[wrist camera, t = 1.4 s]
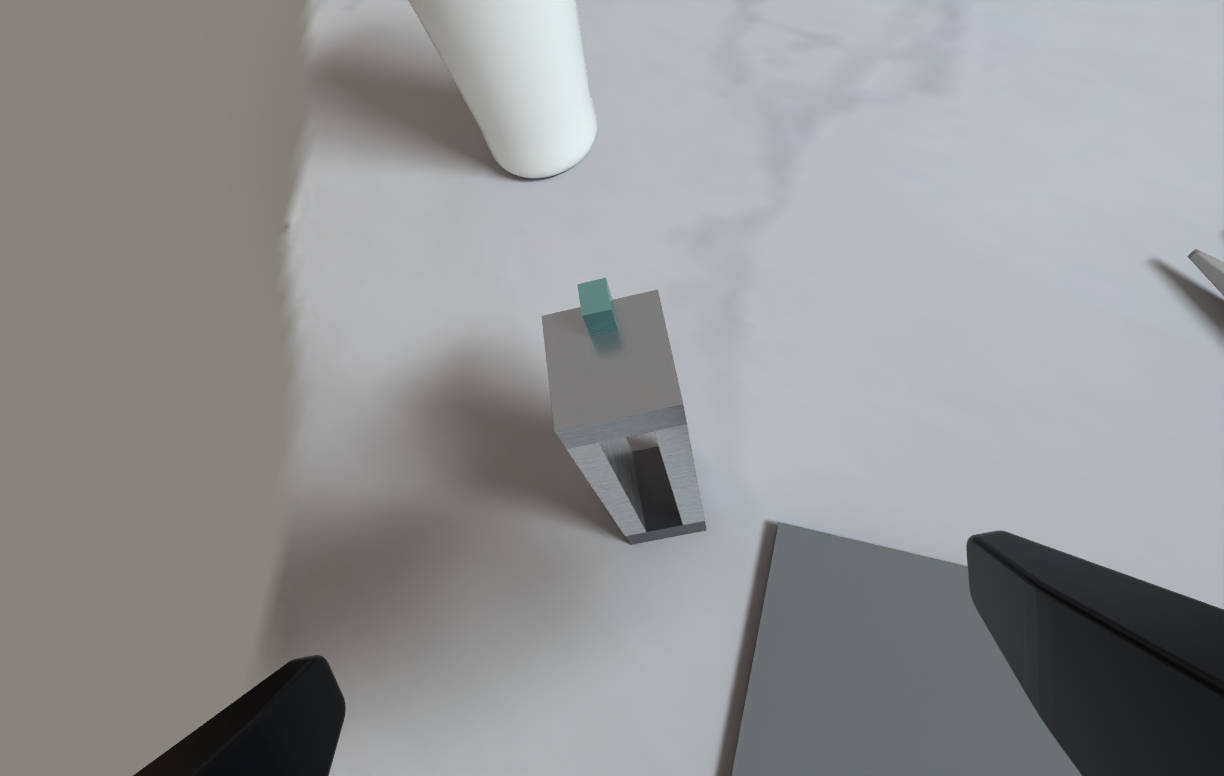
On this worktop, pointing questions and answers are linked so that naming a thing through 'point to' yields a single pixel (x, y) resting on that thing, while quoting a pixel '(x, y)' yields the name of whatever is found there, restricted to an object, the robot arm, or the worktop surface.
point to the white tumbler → (518, 77)
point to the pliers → (1209, 268)
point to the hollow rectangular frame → (623, 410)
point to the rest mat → (881, 672)
